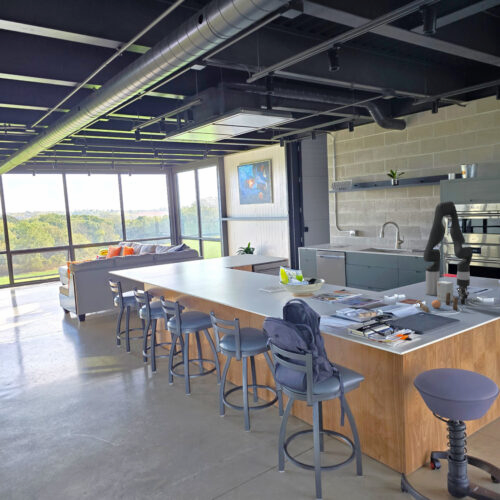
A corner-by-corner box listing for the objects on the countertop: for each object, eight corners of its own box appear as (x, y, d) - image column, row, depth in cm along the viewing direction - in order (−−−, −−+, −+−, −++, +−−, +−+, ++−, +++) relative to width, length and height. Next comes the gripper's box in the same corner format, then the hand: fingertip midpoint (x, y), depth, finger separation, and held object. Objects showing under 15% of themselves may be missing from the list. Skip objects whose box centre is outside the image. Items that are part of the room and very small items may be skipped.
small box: (453, 301, 295) (453, 282, 294) (447, 302, 292) (447, 283, 291) (442, 298, 302) (443, 280, 301) (436, 300, 299) (437, 281, 298)
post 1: (445, 304, 288) (445, 292, 287) (449, 304, 288) (449, 292, 287) (446, 305, 285) (446, 293, 284) (450, 305, 285) (450, 293, 284)
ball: (433, 308, 283) (428, 302, 282) (441, 303, 281) (435, 297, 281) (436, 311, 277) (431, 305, 277) (443, 306, 276) (438, 300, 275)
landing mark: (423, 305, 288) (423, 304, 288) (443, 304, 287) (443, 304, 287) (430, 310, 275) (430, 310, 275) (451, 310, 274) (451, 309, 274)
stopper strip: (416, 304, 292) (416, 300, 292) (419, 304, 292) (419, 300, 291) (425, 312, 272) (425, 308, 272) (428, 312, 272) (428, 308, 272)
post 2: (452, 309, 275) (452, 297, 274) (456, 309, 275) (456, 297, 274) (453, 310, 273) (454, 298, 272) (458, 310, 273) (458, 298, 272)
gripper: (453, 276, 284) (452, 301, 286) (461, 280, 271) (460, 307, 273) (465, 275, 283) (464, 301, 286) (473, 279, 270) (473, 306, 273)
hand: (462, 304), depth 279 cm, fingers closed
